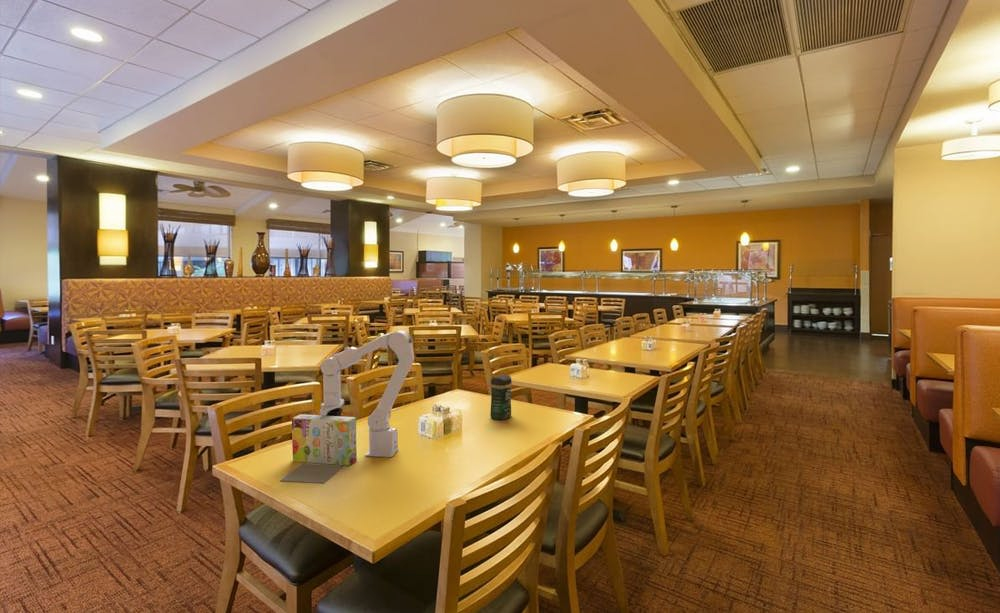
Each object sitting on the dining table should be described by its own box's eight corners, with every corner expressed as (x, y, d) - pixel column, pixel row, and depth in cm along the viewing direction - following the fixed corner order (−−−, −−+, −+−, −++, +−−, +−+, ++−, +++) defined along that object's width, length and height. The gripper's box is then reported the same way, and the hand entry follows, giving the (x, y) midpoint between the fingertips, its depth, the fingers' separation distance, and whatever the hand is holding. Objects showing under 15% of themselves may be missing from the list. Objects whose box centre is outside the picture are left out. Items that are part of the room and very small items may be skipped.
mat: (342, 466, 159) (342, 465, 159) (324, 483, 146) (323, 482, 146) (301, 464, 160) (301, 463, 160) (279, 481, 147) (279, 480, 147)
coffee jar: (503, 421, 207) (503, 378, 206) (487, 418, 211) (487, 376, 210) (514, 415, 215) (514, 374, 214) (499, 413, 219) (499, 372, 218)
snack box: (357, 460, 164) (356, 416, 163) (349, 466, 159) (348, 421, 158) (301, 455, 168) (300, 413, 167) (291, 461, 163) (290, 417, 162)
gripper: (330, 386, 176) (331, 423, 177) (310, 396, 162) (312, 436, 163) (349, 387, 175) (350, 423, 176) (331, 397, 161) (332, 437, 162)
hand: (333, 430), depth 170 cm, fingers closed
